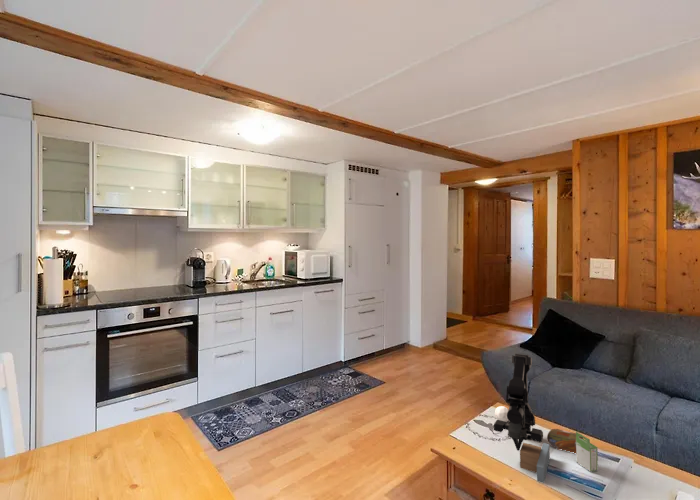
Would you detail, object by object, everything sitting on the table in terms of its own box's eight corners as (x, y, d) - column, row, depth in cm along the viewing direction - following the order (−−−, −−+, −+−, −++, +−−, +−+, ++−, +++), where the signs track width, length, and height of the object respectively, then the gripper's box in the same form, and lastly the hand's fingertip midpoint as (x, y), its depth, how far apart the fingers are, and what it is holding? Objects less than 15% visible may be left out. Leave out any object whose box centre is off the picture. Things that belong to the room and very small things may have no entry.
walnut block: (523, 458, 158) (523, 442, 158) (541, 463, 154) (541, 447, 154) (520, 468, 151) (519, 451, 151) (539, 473, 147) (538, 456, 147)
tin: (547, 446, 167) (546, 428, 167) (548, 443, 169) (547, 425, 169) (586, 457, 157) (585, 437, 157) (586, 453, 160) (586, 434, 160)
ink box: (598, 471, 148) (597, 438, 148) (590, 472, 147) (589, 439, 147) (584, 461, 154) (583, 430, 154) (576, 462, 154) (575, 431, 154)
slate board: (543, 456, 159) (543, 442, 159) (549, 458, 157) (549, 444, 157) (537, 481, 142) (536, 465, 142) (543, 483, 141) (543, 467, 141)
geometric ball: (499, 424, 194) (493, 408, 198) (514, 421, 191) (508, 405, 196) (496, 422, 188) (491, 406, 193) (512, 419, 185) (506, 403, 190)
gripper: (490, 415, 154) (491, 452, 154) (539, 427, 143) (540, 466, 143) (496, 406, 163) (497, 440, 163) (542, 416, 152) (543, 453, 152)
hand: (518, 450), depth 155 cm, fingers closed
